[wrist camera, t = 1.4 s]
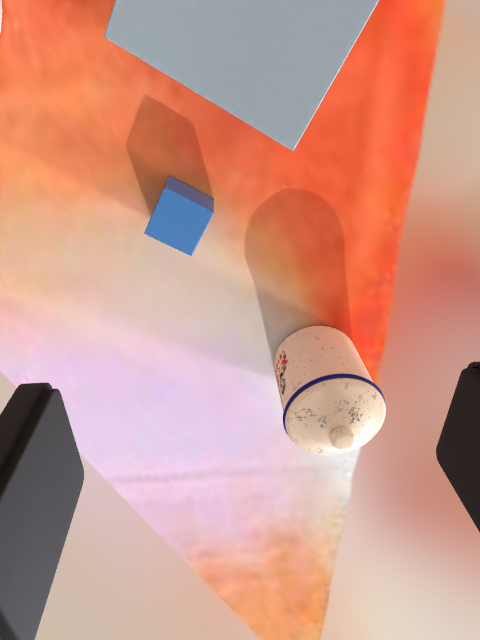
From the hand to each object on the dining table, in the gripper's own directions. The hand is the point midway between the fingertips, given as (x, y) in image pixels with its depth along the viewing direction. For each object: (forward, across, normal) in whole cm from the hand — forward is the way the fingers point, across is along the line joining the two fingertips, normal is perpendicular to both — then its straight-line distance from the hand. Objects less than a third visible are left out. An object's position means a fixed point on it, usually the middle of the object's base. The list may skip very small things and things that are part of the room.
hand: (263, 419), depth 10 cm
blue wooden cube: (+28, +4, +3) cm, 28 cm away
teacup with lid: (+28, -9, +20) cm, 36 cm away
